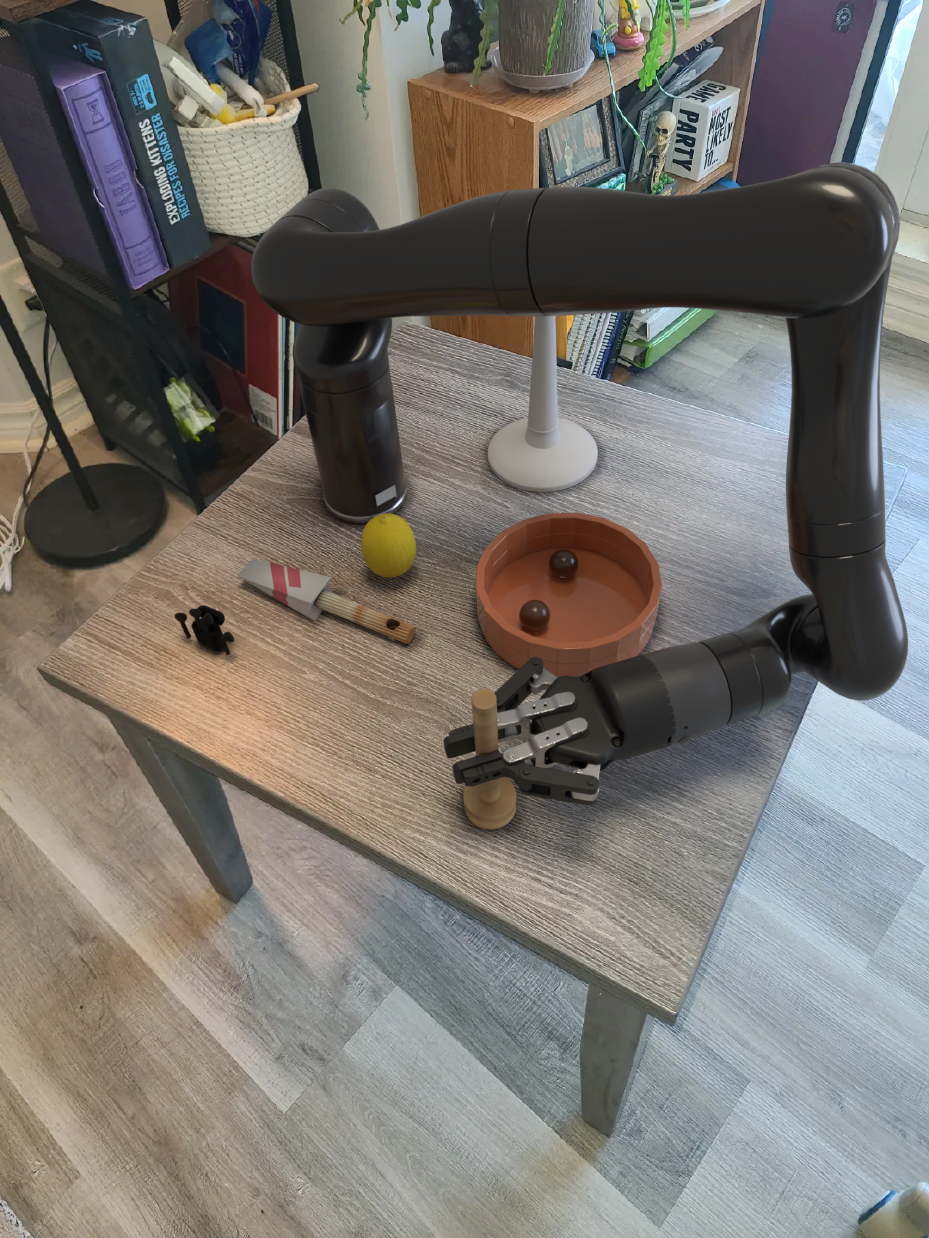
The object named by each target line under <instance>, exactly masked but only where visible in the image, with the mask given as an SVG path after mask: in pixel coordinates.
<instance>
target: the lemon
mask: <svg viewBox="0 0 929 1238" xmlns="http://www.w3.org/2000/svg"><path fill="white" fill-rule="evenodd" d="M360 543H361V544H360V545H361V546H360V548H361V554H362V557H363V560H364V563H366V565H367V566H368V568H369V569H370V570H371V571H372V572H374V573H375V574H376V575H378V576H381V577H384V578H396V577H399V576H401V575H404V574H405V573H407V572H408V571H409V569H411V567H412V566H413V564H414V562H415V559H416V553H417V541H416V537H415V533H414V531H413V529H412V527H411V526H410V525H409V523H408V522H407V521H406V520H405V519H404V518H402V517H401V516H399V515H397V514H395V513H393V514H381V515H377V516H375V517H374V518H372V519H371V520H370V521H369V522H368V523H366V524H365V526H364V527H363V531H362V534H361V541H360Z"/></svg>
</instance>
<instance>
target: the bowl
mask: <svg viewBox="0 0 929 1238" xmlns="http://www.w3.org/2000/svg"><path fill="white" fill-rule="evenodd" d="M561 549H566V550H569V551H571V552H573V553H574V554H575V555H576V557H577V559H578V569H577V571H576V573H575V574H574V575H573V576H572V577H570V578H567V579H560V578H557V577H555V576H554V575H553V574H552V573H551V571H550V569H549V560H550V557H551V556H552V554H553V553H554V552H556V551H558V550H561ZM662 589H663V580H662V576H661V570H660V565H659V562H658V560H657V559H656V558H655V556H654V554H653V552H652V551H651V549H650V547H649V546H648V545H647V543H646V542H645V541H643V540H642V539H641V538H639V537H638V535H636V534H635V533H634V532H632V531H631V530H630V529H629V528H627V527H625V526H623V525H621V524H619V523H616V522H614V521H612V520H609V519H608V518H605V517H602V516H597V515H592V514H586V513H581V512H548V513H544V514H540V515H536V516H532V517H528V518H525V519H524V518H523V519H522V520H520V521H518V522H516V523H514V524H512V525H511V526H509V527H508V528H505V529H504V530H502V531H501V532H499V534H497V535H496V536H495V538H493V540H491V542H489V544H488V545H486V546H485V548H484V550H483V551H482V553H481V556H480V559H479V561H478V563H477V565H476V568H475V594H476V612H477V613H476V615H477V620H478V622H479V628H480V631H481V632H482V635H483V637H484V638H485V641H486V642H487V643H488V646H490V647H491V649H492V650H493V651H494V652H495V654H496V655H498V656H499V657H500V658H501V659H502V660H504V661H505V662H506V663H508V664H509V665H511V666H512V667H514V668H516V669H518V670H519V669H520V668H521V667H522V666H523V665H524V664H525V663H527V662H528V661H529V660H530V659H531V658H533V657H539V658H541V659H542V660H543V668H544V669H546V670H547V671H549V672H550V673H552V674H553V675H555V676H556V677H560V676H574V677H577V676H582V675H584V674H586V673H588V672H589V671H591V670H593V669H595V668H598V667H601V666H605V665H608V664H612V663H615V662H618V661H622V660H625V659H629V658H632V657H636V656H639V655H640V653H642V651H643V650H644V649H645V647H646V646H647V645H648V643H649V641H650V639H651V637H652V635H653V632H654V629H655V623H656V619H657V617H658V611H659V605H660V599H661V595H662ZM530 600H539V601H542V602H543V603H545V604H546V605H547V607H548V608H549V611H550V620H549V622H548V624H547V625H546V626H545V627H544V628H543V629H541V630H537V631H532V630H529V629H527V628H525V627H524V626H523V625H522V623H521V622H520V619H519V612H520V609H521V607H522V606H523V604H525V603H526V602H527V601H530Z"/></svg>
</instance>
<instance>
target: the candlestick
mask: <svg viewBox="0 0 929 1238" xmlns="http://www.w3.org/2000/svg"><path fill="white" fill-rule="evenodd" d="M533 327H534V328H533V341H532V342H533V343H532V357H531V370H530V371H531V373H530V386H529V401H528V416H527V417H523V418H521V419H518V420H515V421H512V422H510V423H508V424H507V425H505V426H503V427H502V428H501V429H499V430H498V431H497V432H496V433H495V434H494V435H493V436H492V438H491V439H490V441H489V444H488V447H487V461H488V465H489V468H490V470H491V471H492V472H493V474H494V475H495V476H496V477H497V478H498V479H499V480H500V481H502V482H504V483H505V484H507V485H509V486H511V487H513V488H516V489H519V490H523V491H528V492H533V493H534V492H535V493H549V492H550V493H551V492H557V491H562V490H566V489H569V488H571V487H572V488H573V487H574V486H576V485H578V484H580V483H581V482H583V481H584V480H586V479H587V478H588V477H589V476H590V475H591V474H592V472H593V471H594V469H595V468H596V465H597V462H598V455H599V451H598V445H597V442H596V440H595V439H594V437H593V436H592V434H591V433H590V432H589V431H588V430H587V429H585V428H584V427H583V426H581V425H580V424H577V423H576V422H573V421H572V420H568V419H566V418H562V417H559V407H558V405H559V403H558V402H559V401H558V368H557V366H558V365H557V362H558V361H557V328H556V327H557V326H556V316H534V326H533Z"/></svg>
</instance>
